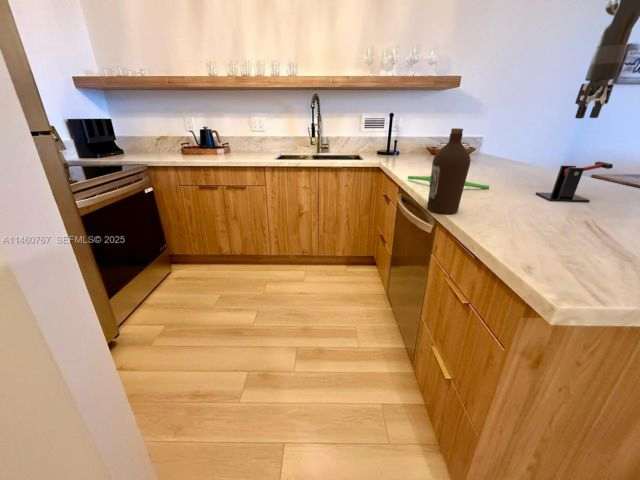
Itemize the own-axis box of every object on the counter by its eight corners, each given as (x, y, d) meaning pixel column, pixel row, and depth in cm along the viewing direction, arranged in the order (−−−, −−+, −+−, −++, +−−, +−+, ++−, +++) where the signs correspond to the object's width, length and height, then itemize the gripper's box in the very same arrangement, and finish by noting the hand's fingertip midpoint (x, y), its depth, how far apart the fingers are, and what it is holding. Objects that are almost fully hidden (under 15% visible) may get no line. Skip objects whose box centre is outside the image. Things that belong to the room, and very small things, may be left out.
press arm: (598, 166, 102) (599, 159, 101) (612, 169, 97) (613, 162, 96) (560, 174, 105) (560, 167, 104) (571, 177, 99) (572, 171, 98)
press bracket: (571, 196, 109) (583, 164, 104) (588, 203, 101) (602, 169, 96) (534, 195, 110) (545, 164, 105) (549, 202, 102) (560, 168, 97)
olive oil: (454, 205, 98) (470, 127, 88) (464, 216, 89) (483, 130, 78) (422, 204, 100) (434, 127, 89) (428, 214, 90) (443, 129, 80)
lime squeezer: (488, 189, 119) (492, 173, 116) (486, 195, 110) (491, 179, 107) (408, 179, 135) (409, 166, 132) (400, 184, 125) (402, 170, 123)
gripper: (607, 60, 86) (587, 119, 93) (632, 62, 91) (611, 118, 98) (578, 63, 92) (561, 118, 99) (603, 65, 97) (585, 117, 104)
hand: (586, 118), depth 98 cm, fingers open, 8 cm apart
